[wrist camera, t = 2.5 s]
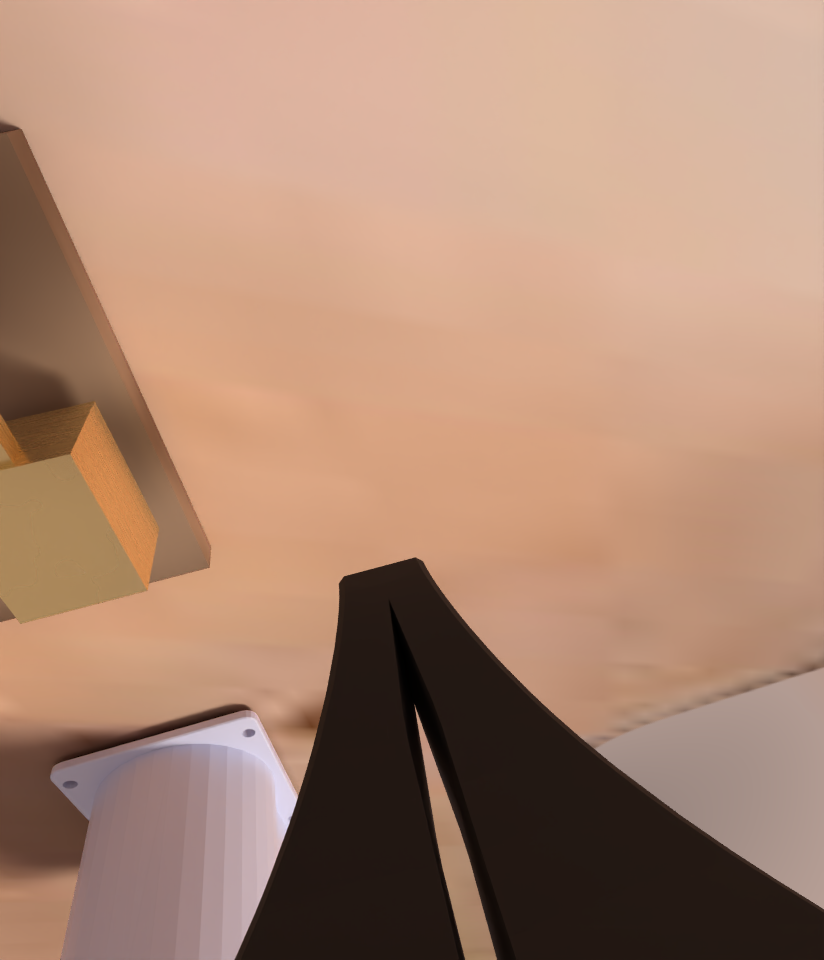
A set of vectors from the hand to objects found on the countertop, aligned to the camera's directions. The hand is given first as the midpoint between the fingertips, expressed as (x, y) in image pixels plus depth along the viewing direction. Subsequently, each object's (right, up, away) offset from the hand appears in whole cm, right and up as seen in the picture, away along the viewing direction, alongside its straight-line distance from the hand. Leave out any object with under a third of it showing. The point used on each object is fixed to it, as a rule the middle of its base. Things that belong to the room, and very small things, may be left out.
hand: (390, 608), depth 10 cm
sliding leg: (-9, +3, +4) cm, 10 cm away
